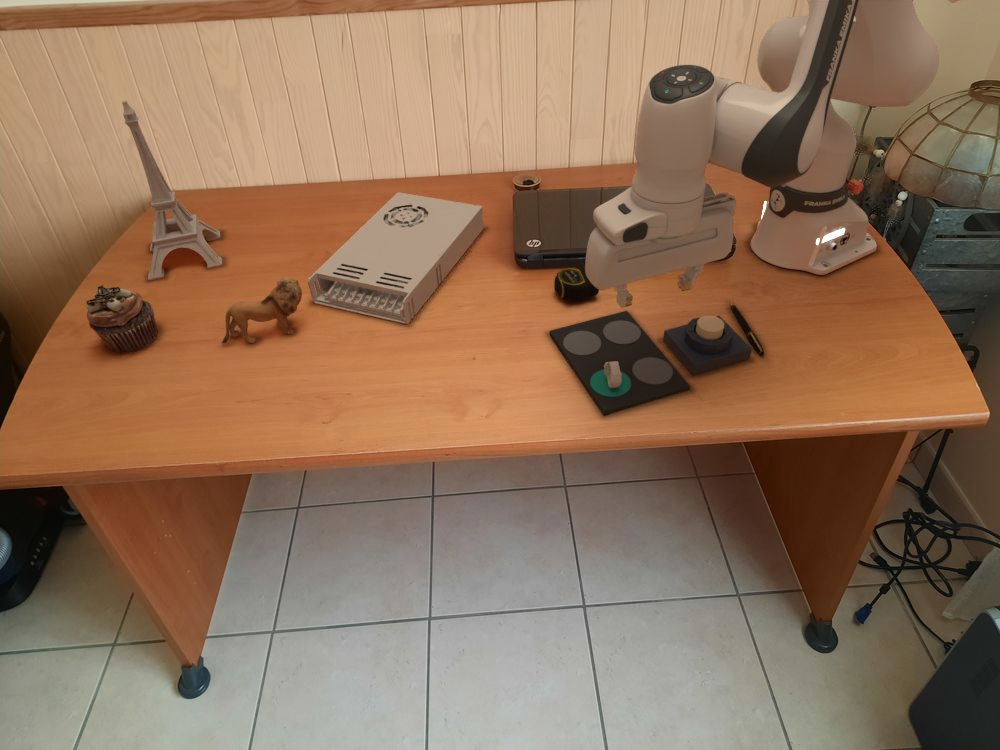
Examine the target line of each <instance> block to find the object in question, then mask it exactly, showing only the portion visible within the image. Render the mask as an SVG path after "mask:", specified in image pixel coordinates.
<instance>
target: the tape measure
mask: <svg viewBox="0 0 1000 750" xmlns="http://www.w3.org/2000/svg"><path fill="white" fill-rule="evenodd" d="M553 285H554V286H553V288H554V291H555V293H556V294H557V296H559V298H561V299H563V300H565V301H568V302H582V301H585V300H587V299H589V298H592V297H595V296H597V295H598V294H599V292H600V290H599V289H597V288H596V287H595V286H594V285H593V284H592V283H591V282H590V281H589V279H588V278H587V276H586V273H585V266H583V265H582V264H580V265H577V266H575V267H566V268H563V269H561V270H559V271H558V272H557V273H556V275H555V277H554V284H553Z"/></svg>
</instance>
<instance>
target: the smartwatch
mask: <svg viewBox="0 0 1000 750" xmlns="http://www.w3.org/2000/svg"><path fill="white" fill-rule="evenodd" d="M604 374H605V375H606V376H607V380H608V384H609V387H610V388H617V387H619V386H620V385H621V381H622V379H621V376H622V374H621V372H620V368H619V363H618V362H617V361H613V362H606V363H605V365H604Z"/></svg>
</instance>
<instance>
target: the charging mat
mask: <svg viewBox="0 0 1000 750" xmlns="http://www.w3.org/2000/svg"><path fill="white" fill-rule="evenodd" d="M549 336H550V338H551V339H552V341H553V342H554V343H555V345H556V346H557V348H558V350H559V351H560V352H561V354H562V355H563V357H564V359H565V360H566V361H567V363H568V364H569V366H570V368H571V369H572V370H573V372H574V373H575V375H576V376H577V378H578V380H579V381H580V382H581V384H582V385H583V387H584V388H585V390H586V391H587V393H588V394H589V396H590V397H591V398H592V401H593V402H594V403H595V405H596V406H597V407H598V409H599V411H600V412H601V414H602V415H603V416H608V415H610V414H615V413H617V412H621V411H624V410H627V409H631V408H634V407H638V406H641V405H644V404H648V403H651V402H654V401H658V400H661V399H665V398H668V397H672V396H674V395H678V394H681V393H684V392H688V391H690V390H691V385H690V384H689V383H688V382H687V381H686V379H685V378H684V377H683V375H681V373H680V372H679V371H678V370H677V368H675V366H674V365H673V364H672V363H671V362H670V360H669V359H668V357H666V355H665V354H664V353H663V352H662V351H661V350H660V348H659V347H658V346H657V345H656V343H655V342H654V341H653V340H652V339H651V338H650V336H649V335H648V334H647V333H646V331H644V329H643V328H642V327H641V325H640V324H639V323H638V322H637V321H636V320H635V318H634V317H633V316H632V315H631V313H630V312H629V311H628V310H624V311H619V312H616V313H612V314H608V315H605V316H600V317H597V318H593V319H590V320H586V321H582V322H577V323H573V324H570V325H566V326H562V327H559V328H555V329H551V330H549ZM613 361H617V362H618V363H619V368H620V372H621V374H622V376H621V379H622V381H621V385H620V386H619V387H617V388H610V387H609V384H608V380H607V376H606V375H605V374H604V365H605V363H606V362H613Z"/></svg>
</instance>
